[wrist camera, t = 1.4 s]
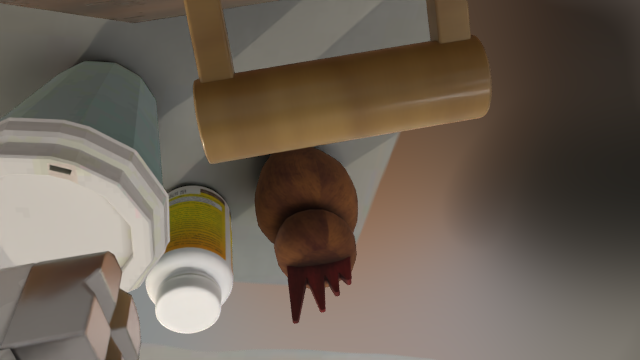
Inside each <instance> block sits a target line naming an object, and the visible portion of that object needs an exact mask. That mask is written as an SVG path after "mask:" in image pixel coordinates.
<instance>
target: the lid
mask: <svg viewBox="0 0 640 360" xmlns="http://www.w3.org/2000/svg"><path fill="white" fill-rule="evenodd" d="M271 1H278V0H0V3H3V4H10V5H16V6H23V7H30V8H36V9H43V10H50V11H56V12H63V13H70V14H76V15H83V16H90V17H96V18H103V19H110V20H116V21H123V22H130V23H138V22H144V21H151V20H157V19H163V18H170V17H176V16H182V15H186V16H187V21H188V26H189V30H190V35H191V40H192V45H193V50H194V55H195V60H196V65H197V70H198V75H199V79H197V80H195V81H194V84H193V97H194V106H195V113H196V118H197V124H198V129H199V133H200V138H201V142H202V145H203V149H204V152H205V155H206V157H207V160H208V161H209V163H211V164H215V163H221V162H227V161H232V160H238V159H244V158H250V157H256V156H261V155H267V154H273V153H279V152H285V151H290V150H296V149H302V148H308V147H313V146H319V145H325V144H331V143H337V142H342V141H348V140H354V139H360V138H366V137H371V136H377V135H383V134H389V133H394V132H400V131H406V130H411V129H418V128H423V127H429V126H434V125H441V124H446V123H452V122H458V121H464V120H470V119H476V118H481V117H483V116H484V115H486V113H487V112H488V109H489V106H490V102H491V93H492V83H491V72H490V66H489V62H488V58H487V55H486V52H485V49H484V47H483V45H482V43H481V42H480V40H479V39H478V38H477V37H476V36H474V35H471V33H470V22H469V12H468V1H467V0H426V3H427V12H428V22H429V31H430V40H431V41H428V42H422V43H416V44H410V45H404V46H398V47H392V48H385V49H379V50H373V51H367V52H361V53H355V54H349V55H343V56H337V57H331V58H325V59H318V60H312V61H306V62H300V63H294V64H288V65H282V66H276V67H270V68H264V69H257V70H251V71H245V72H239V73H235V72H234V67H233V61H232V56H231V51H230V46H229V40H228V35H227V30H226V24H225V19H224V14H223V9H227V8H233V7H240V6H246V5H252V4H259V3H265V2H271Z"/></svg>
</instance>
